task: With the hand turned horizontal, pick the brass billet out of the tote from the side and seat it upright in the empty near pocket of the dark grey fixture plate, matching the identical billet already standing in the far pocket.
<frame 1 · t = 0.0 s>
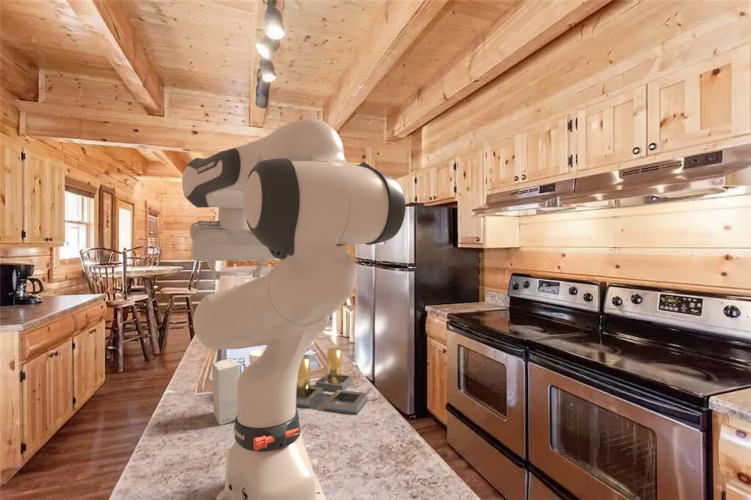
hand: (236, 278, 92), 39 cm above the countertop, tool pointing down, fingers open, 8 cm apart
fixture plate: (323, 405, 111), on the countertop
foam cup: (265, 393, 120), on the countertop
tote: (334, 388, 123), on the countertop
skincare box: (226, 418, 103), on the countertop
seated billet: (302, 398, 113), resting on fixture plate
billet: (334, 386, 123), point 1 cm above the countertop, touching tote
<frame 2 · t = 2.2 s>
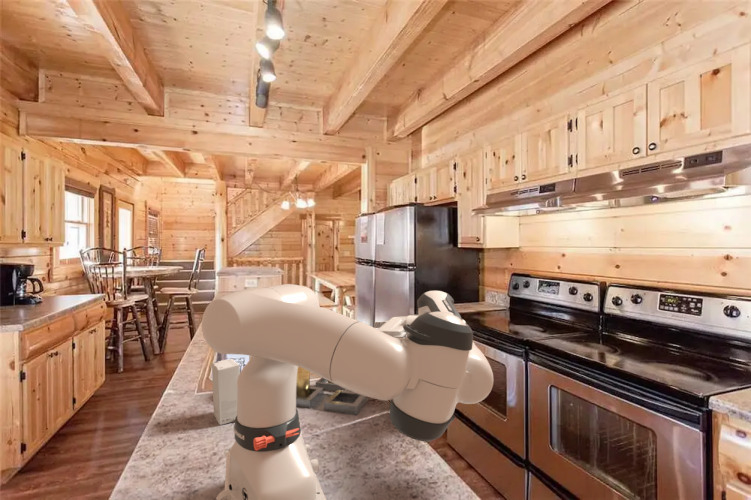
hand: (370, 328, 119), 21 cm above the countertop, tool horizontal, fingers open, 8 cm apart
nothing on the countertop moved.
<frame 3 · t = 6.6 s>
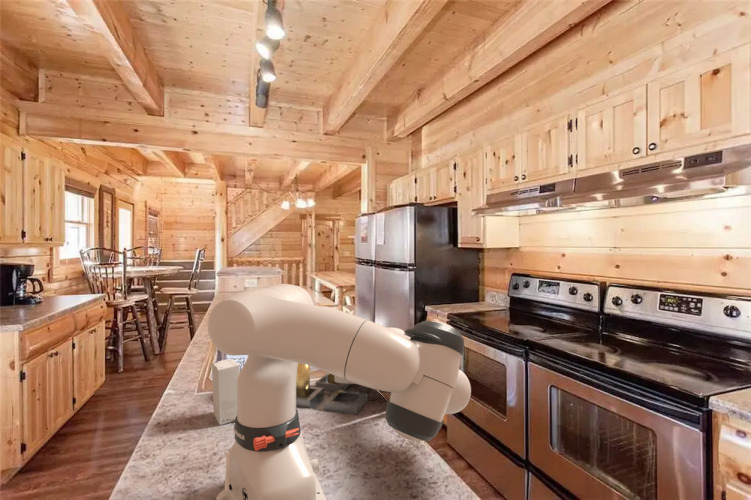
hand: (331, 365, 123), 7 cm above the countertop, tool horizontal, fingers closed on billet, 4 cm apart
billet: (334, 386, 123), point 1 cm above the countertop, touching gripper, tote
everything else where it was.
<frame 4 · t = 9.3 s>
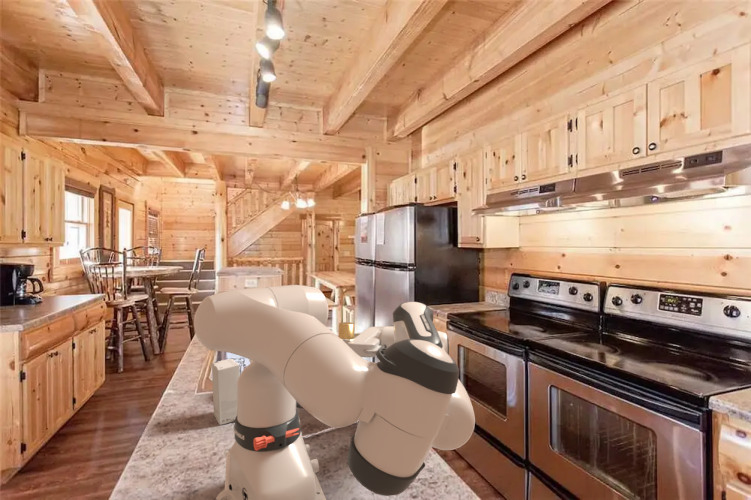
hand: (343, 339, 109), 20 cm above the countertop, tool horizontal, fingers closed on billet, 4 cm apart
billet: (346, 365, 108), point 12 cm above the countertop, touching gripper
everything else where it was.
when the fingers open (9 cm above the countertop, at t = 12.1 s): billet stays where it is, resting on fixture plate.
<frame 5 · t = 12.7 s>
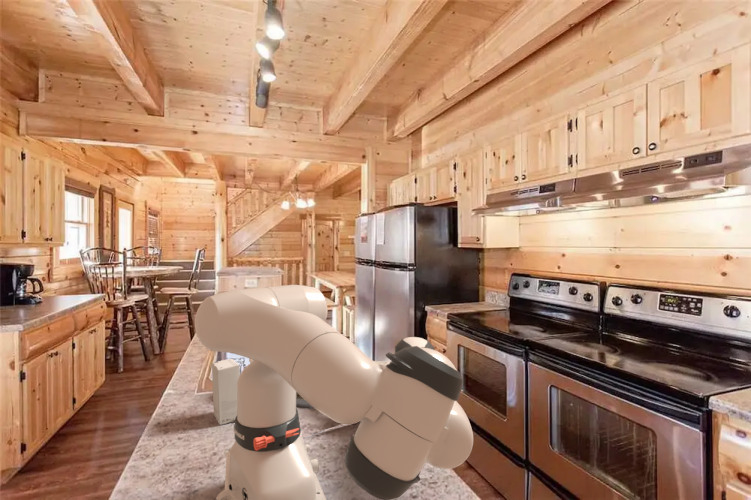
hand: (343, 375, 109), 9 cm above the countertop, tool horizontal, fingers open, 8 cm apart
billet: (346, 404, 109), point 1 cm above the countertop, touching fixture plate
everything else where it was.
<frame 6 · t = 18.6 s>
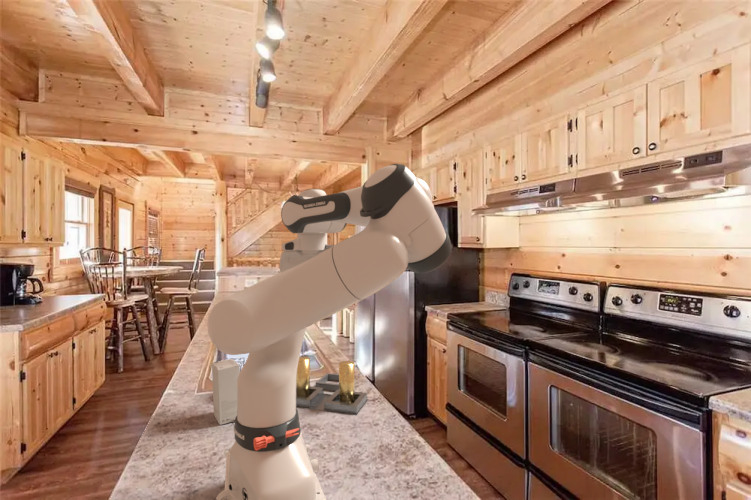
hand: (312, 290, 113), 33 cm above the countertop, tool pointing down, fingers closed
nothing on the countertop moved.
at the end: billet 0.1 cm from the target spot, point 1.0 cm above the countertop; billet tilted 0°; the gripper is holding nothing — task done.
